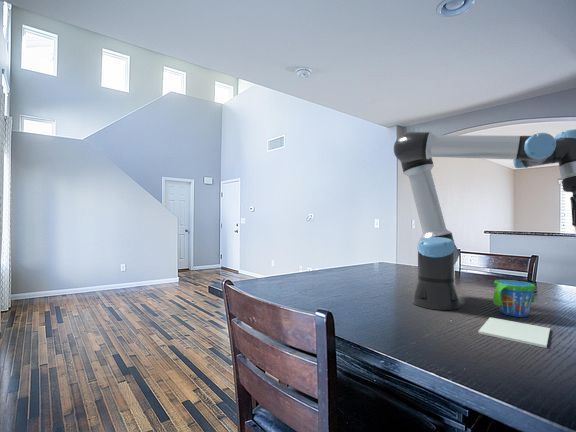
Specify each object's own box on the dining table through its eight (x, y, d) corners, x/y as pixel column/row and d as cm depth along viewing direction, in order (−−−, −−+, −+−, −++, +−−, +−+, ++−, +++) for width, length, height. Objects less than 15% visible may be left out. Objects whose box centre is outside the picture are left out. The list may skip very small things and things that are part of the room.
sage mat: (546, 348, 74) (546, 345, 74) (478, 333, 84) (478, 331, 84) (550, 330, 86) (550, 328, 86) (490, 319, 96) (489, 317, 96)
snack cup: (518, 308, 108) (518, 278, 108) (550, 317, 97) (550, 284, 97) (480, 311, 104) (480, 280, 104) (509, 321, 94) (509, 287, 94)
